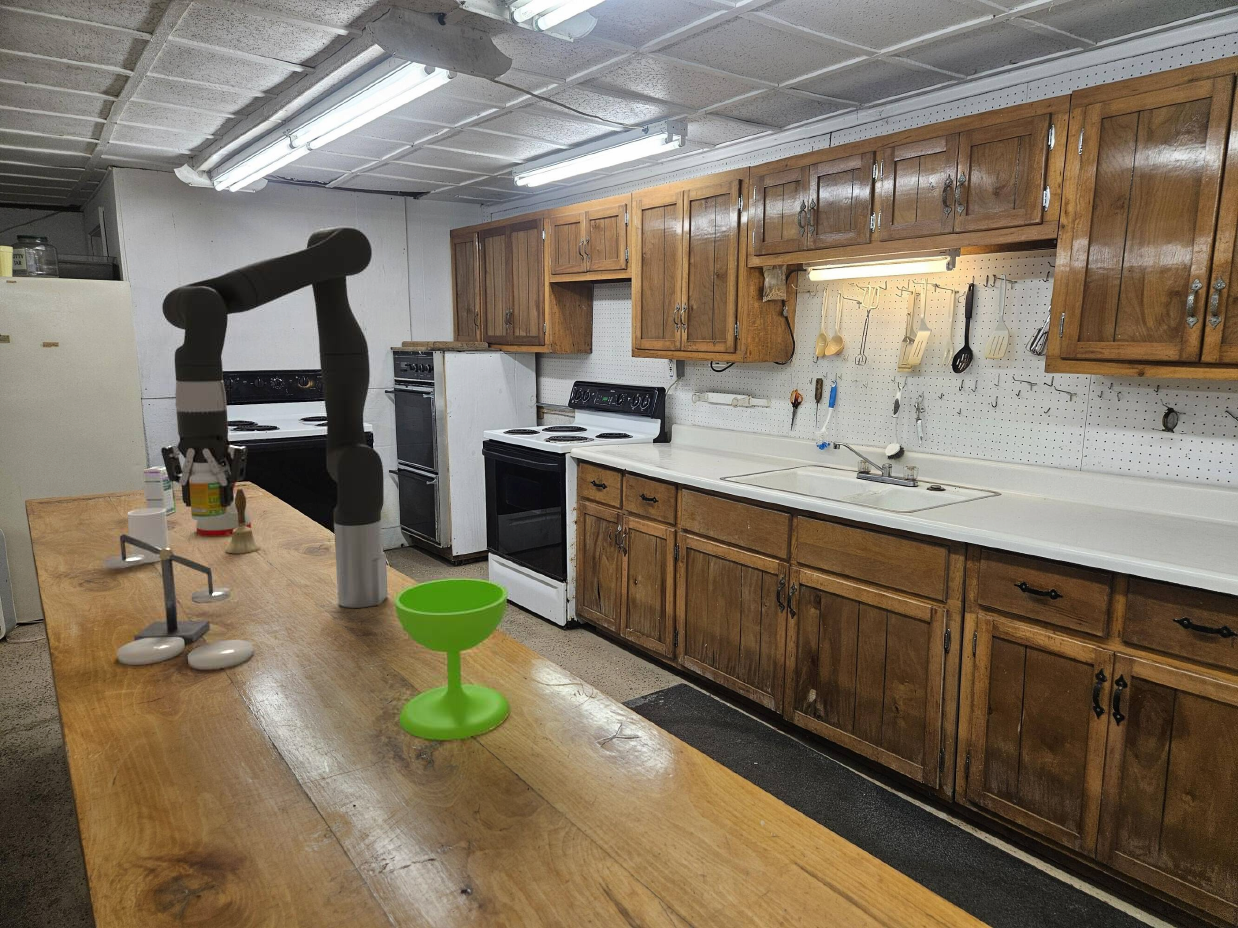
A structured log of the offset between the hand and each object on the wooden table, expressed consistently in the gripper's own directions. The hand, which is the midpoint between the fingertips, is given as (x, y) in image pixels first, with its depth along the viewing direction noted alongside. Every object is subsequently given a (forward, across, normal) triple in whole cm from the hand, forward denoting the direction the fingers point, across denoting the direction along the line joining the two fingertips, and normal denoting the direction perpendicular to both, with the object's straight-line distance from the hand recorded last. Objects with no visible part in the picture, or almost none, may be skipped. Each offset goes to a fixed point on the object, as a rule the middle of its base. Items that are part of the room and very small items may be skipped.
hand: (208, 505), depth 134 cm
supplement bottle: (+2, 0, 0) cm, 2 cm away
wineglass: (+26, -47, +23) cm, 58 cm away
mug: (+26, +47, -57) cm, 78 cm away
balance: (+26, +11, -6) cm, 29 cm away
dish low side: (+26, -3, +4) cm, 26 cm away
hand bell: (+26, +27, -64) cm, 74 cm away
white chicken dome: (+26, +42, -85) cm, 98 cm away
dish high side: (+26, +10, +2) cm, 28 cm away
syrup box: (+26, +72, -104) cm, 129 cm away
